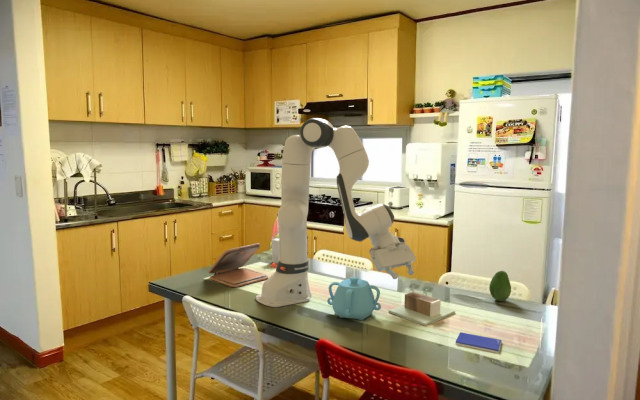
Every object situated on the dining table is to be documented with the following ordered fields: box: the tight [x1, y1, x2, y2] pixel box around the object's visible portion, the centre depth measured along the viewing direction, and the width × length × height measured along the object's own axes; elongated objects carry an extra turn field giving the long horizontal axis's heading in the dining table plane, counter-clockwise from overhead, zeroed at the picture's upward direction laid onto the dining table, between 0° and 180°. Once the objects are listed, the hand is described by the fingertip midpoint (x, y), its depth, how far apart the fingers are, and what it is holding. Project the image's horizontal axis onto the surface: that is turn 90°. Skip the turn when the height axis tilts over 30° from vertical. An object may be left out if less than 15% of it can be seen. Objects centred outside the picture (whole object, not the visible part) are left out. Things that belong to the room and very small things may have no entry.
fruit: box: [489, 270, 512, 302], centre depth 175 cm, size 8×8×12 cm
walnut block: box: [403, 291, 442, 317], centre depth 162 cm, size 5×5×12 cm
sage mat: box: [388, 304, 456, 327], centre depth 163 cm, size 18×16×1 cm
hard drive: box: [454, 331, 502, 354], centre depth 138 cm, size 2×8×12 cm
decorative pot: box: [327, 276, 382, 321], centre depth 160 cm, size 16×16×14 cm
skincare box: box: [271, 237, 280, 265], centre depth 230 cm, size 6×4×12 cm
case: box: [208, 242, 269, 288], centre depth 202 cm, size 20×21×16 cm
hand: (404, 276), depth 167 cm, fingers open, 8 cm apart
